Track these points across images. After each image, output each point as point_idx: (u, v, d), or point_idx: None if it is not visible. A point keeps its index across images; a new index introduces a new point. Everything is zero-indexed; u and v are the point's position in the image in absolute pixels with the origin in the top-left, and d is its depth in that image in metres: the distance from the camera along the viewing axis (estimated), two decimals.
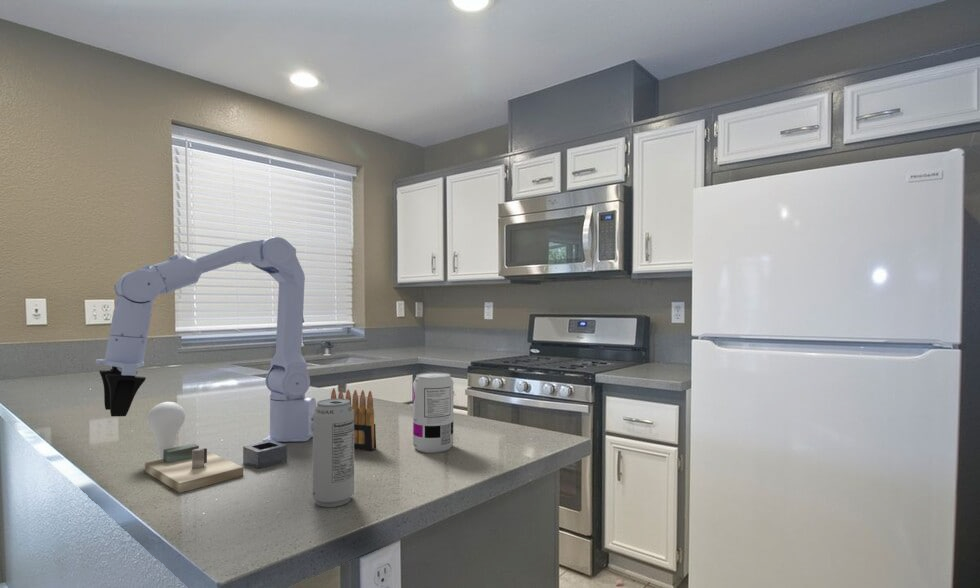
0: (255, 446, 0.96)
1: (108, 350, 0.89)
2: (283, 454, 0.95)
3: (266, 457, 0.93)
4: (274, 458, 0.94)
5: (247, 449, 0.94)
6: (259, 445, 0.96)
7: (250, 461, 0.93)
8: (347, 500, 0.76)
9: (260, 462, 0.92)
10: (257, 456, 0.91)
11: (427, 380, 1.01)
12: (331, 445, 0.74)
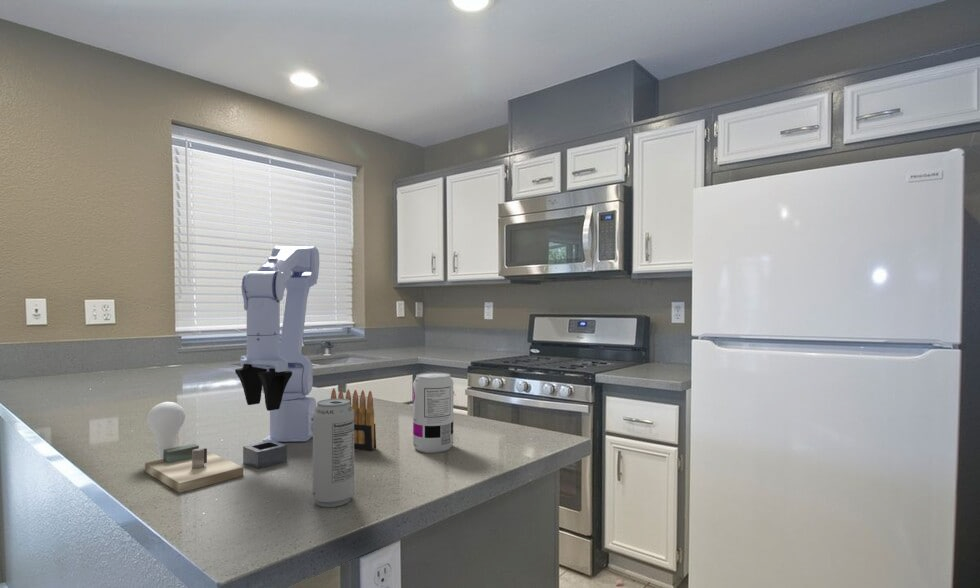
0: (255, 446, 0.96)
1: (251, 350, 0.93)
2: (283, 454, 0.95)
3: (266, 457, 0.93)
4: (274, 458, 0.94)
5: (247, 449, 0.94)
6: (259, 445, 0.96)
7: (250, 461, 0.93)
8: (347, 500, 0.76)
9: (260, 462, 0.92)
10: (257, 456, 0.91)
11: (427, 380, 1.01)
12: (331, 445, 0.74)
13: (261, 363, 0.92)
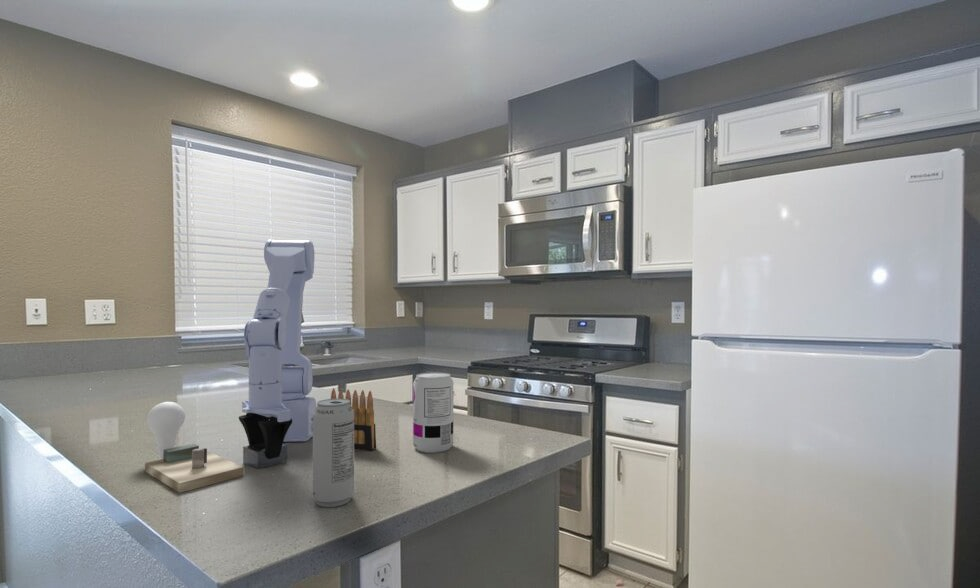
0: (255, 446, 0.96)
1: (253, 399, 0.93)
2: (283, 454, 0.95)
3: (266, 457, 0.93)
4: (274, 458, 0.94)
5: (247, 449, 0.94)
6: (259, 445, 0.96)
7: (250, 461, 0.93)
8: (347, 500, 0.76)
9: (260, 462, 0.92)
10: (257, 456, 0.91)
11: (427, 380, 1.01)
12: (331, 445, 0.74)
13: (263, 412, 0.92)
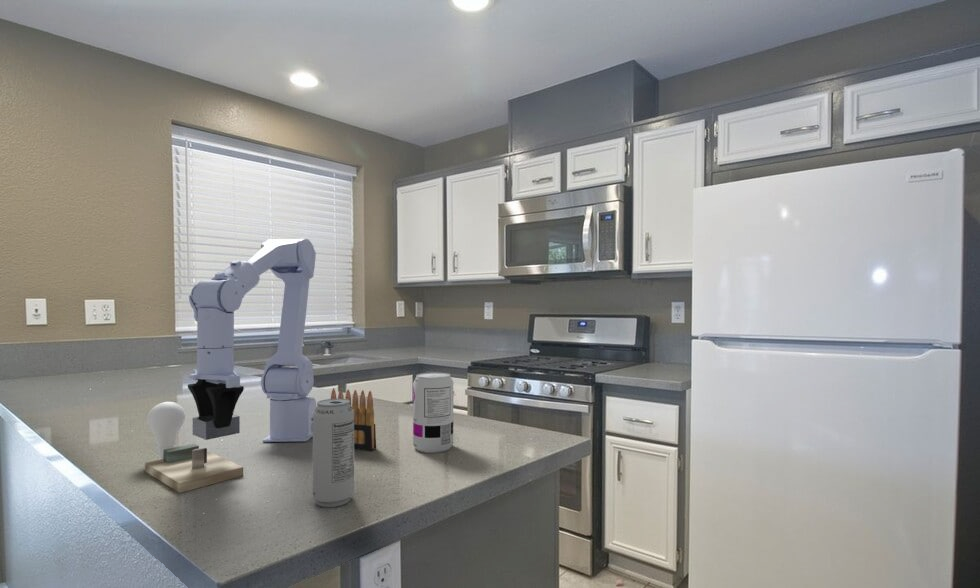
0: (206, 417, 0.90)
1: (201, 364, 0.87)
2: (235, 425, 0.89)
3: (216, 428, 0.87)
4: (225, 430, 0.88)
5: (196, 420, 0.88)
6: (210, 416, 0.91)
7: (199, 432, 0.87)
8: (347, 500, 0.76)
9: (209, 433, 0.86)
10: (205, 427, 0.86)
11: (427, 380, 1.01)
12: (331, 445, 0.74)
13: (211, 378, 0.86)
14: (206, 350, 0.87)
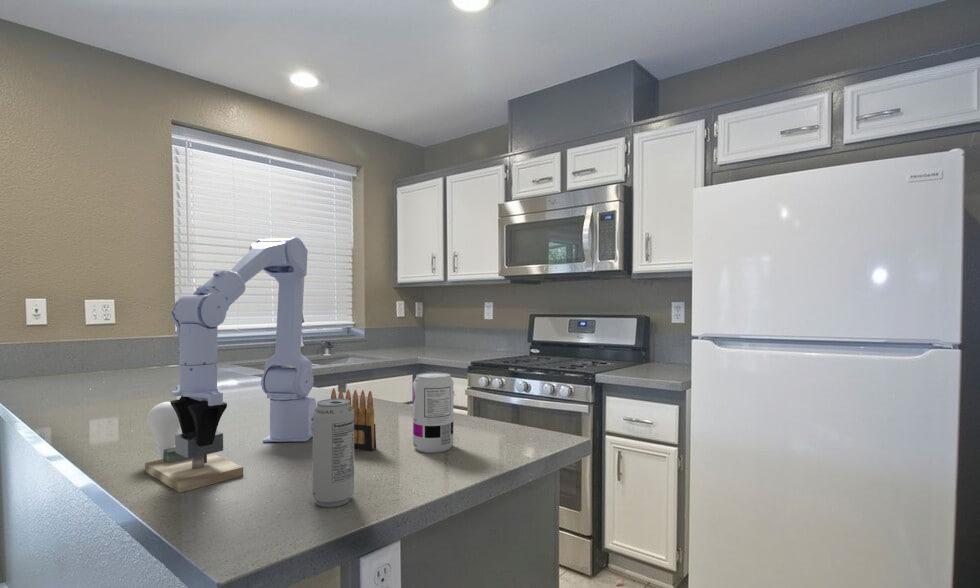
0: (189, 434, 0.88)
1: (183, 381, 0.85)
2: (219, 443, 0.88)
3: (198, 446, 0.85)
4: (208, 447, 0.86)
5: (178, 438, 0.86)
6: (193, 433, 0.89)
7: (181, 450, 0.86)
8: (347, 500, 0.76)
9: (191, 451, 0.84)
10: (187, 445, 0.84)
11: (427, 380, 1.01)
12: (331, 445, 0.74)
13: (193, 396, 0.84)
14: (188, 367, 0.85)
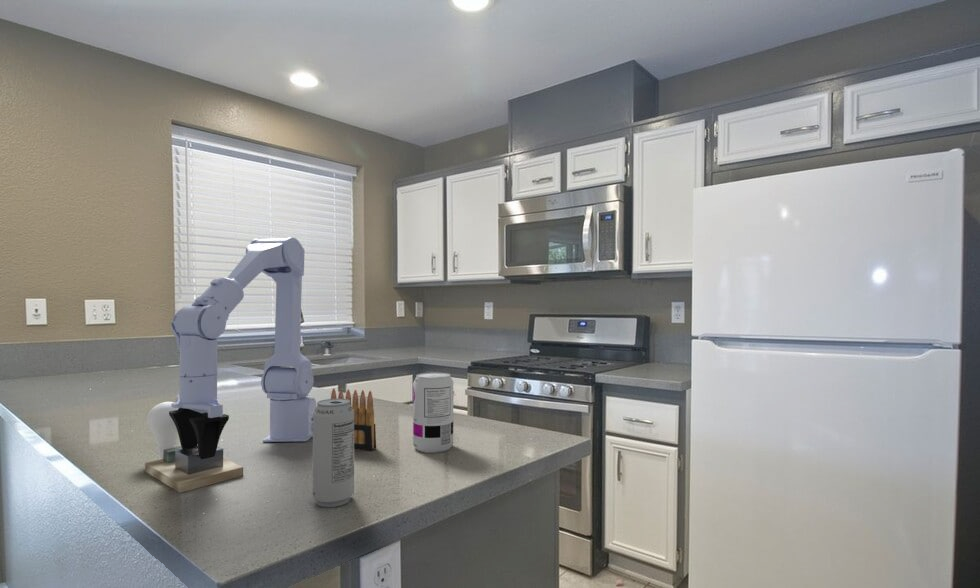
0: (189, 450, 0.88)
1: (183, 393, 0.85)
2: (219, 458, 0.88)
3: (199, 462, 0.85)
4: (208, 463, 0.86)
5: (179, 453, 0.86)
6: None
7: (181, 466, 0.86)
8: (347, 500, 0.76)
9: (191, 467, 0.84)
10: (187, 461, 0.84)
11: (427, 380, 1.01)
12: (331, 445, 0.74)
13: (193, 407, 0.84)
14: (188, 378, 0.85)
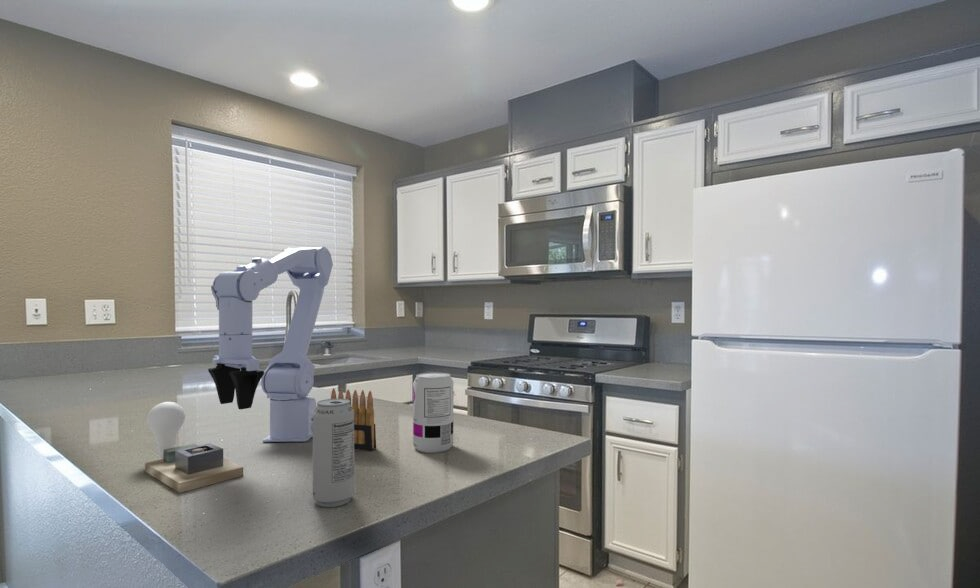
0: (189, 450, 0.88)
1: (223, 349, 0.94)
2: (219, 458, 0.88)
3: (199, 462, 0.85)
4: (208, 463, 0.86)
5: (179, 453, 0.86)
6: None
7: (181, 466, 0.86)
8: (347, 500, 0.76)
9: (191, 467, 0.84)
10: (187, 461, 0.84)
11: (427, 380, 1.01)
12: (331, 445, 0.74)
13: (233, 362, 0.93)
14: (227, 336, 0.94)
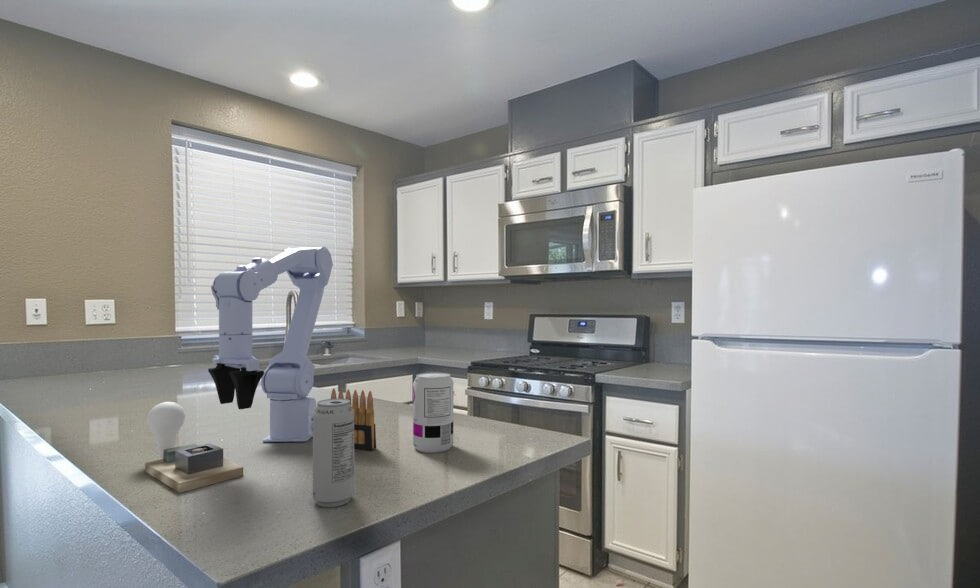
0: (189, 450, 0.88)
1: (223, 349, 0.94)
2: (219, 458, 0.88)
3: (199, 462, 0.85)
4: (208, 463, 0.86)
5: (179, 453, 0.86)
6: None
7: (181, 466, 0.86)
8: (347, 500, 0.76)
9: (191, 467, 0.84)
10: (187, 461, 0.84)
11: (427, 380, 1.01)
12: (331, 445, 0.74)
13: (233, 362, 0.93)
14: (227, 336, 0.94)
